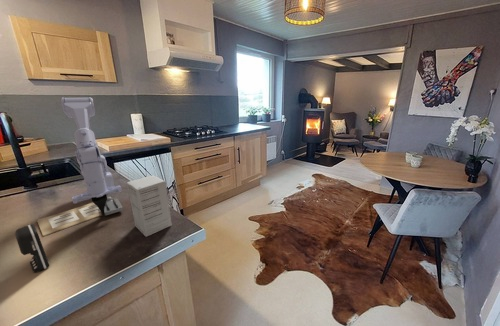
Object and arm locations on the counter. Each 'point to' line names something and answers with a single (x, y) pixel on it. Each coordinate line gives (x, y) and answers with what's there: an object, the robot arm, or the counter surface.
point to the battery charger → (32, 247)
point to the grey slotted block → (112, 206)
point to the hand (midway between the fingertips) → (103, 214)
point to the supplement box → (149, 204)
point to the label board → (68, 218)
